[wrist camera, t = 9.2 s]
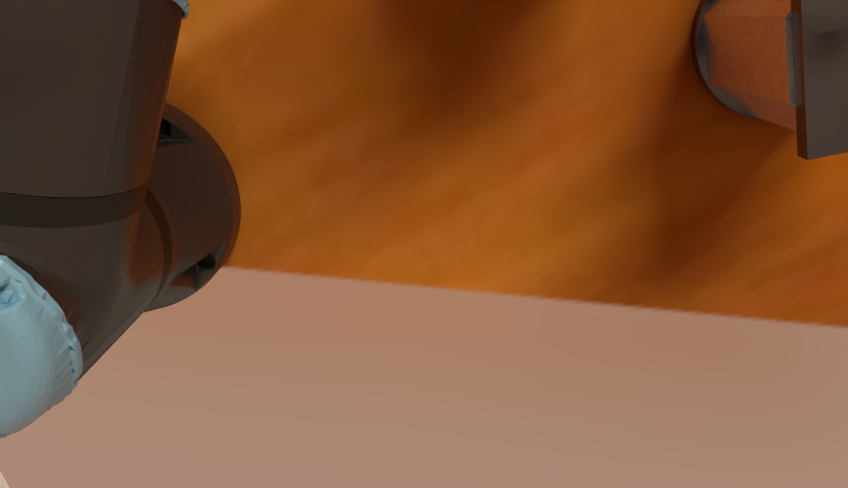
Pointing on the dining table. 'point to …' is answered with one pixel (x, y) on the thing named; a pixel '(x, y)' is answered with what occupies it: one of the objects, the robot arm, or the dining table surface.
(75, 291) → the robot arm
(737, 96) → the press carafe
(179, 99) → the dining table surface
